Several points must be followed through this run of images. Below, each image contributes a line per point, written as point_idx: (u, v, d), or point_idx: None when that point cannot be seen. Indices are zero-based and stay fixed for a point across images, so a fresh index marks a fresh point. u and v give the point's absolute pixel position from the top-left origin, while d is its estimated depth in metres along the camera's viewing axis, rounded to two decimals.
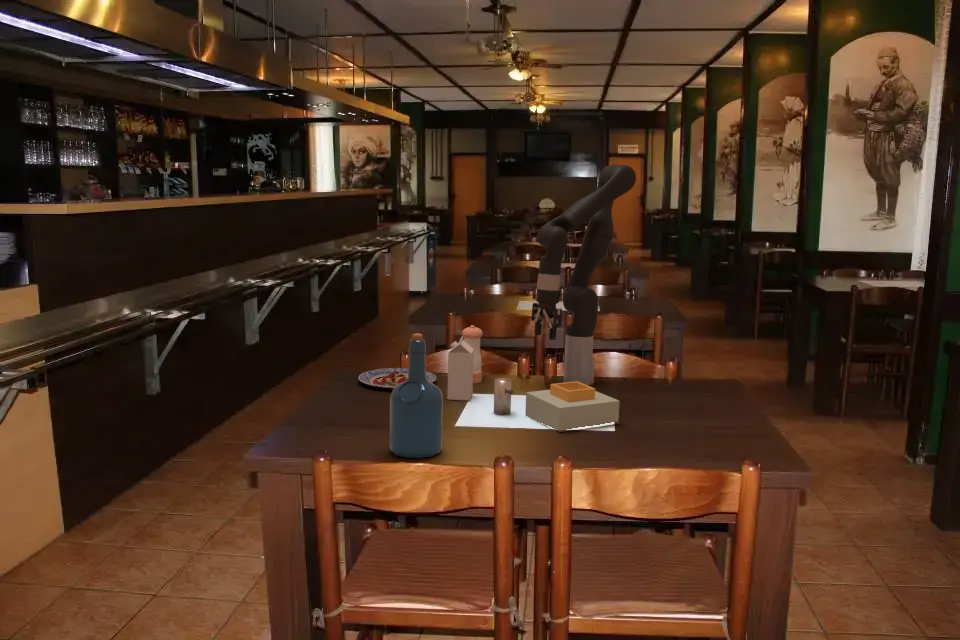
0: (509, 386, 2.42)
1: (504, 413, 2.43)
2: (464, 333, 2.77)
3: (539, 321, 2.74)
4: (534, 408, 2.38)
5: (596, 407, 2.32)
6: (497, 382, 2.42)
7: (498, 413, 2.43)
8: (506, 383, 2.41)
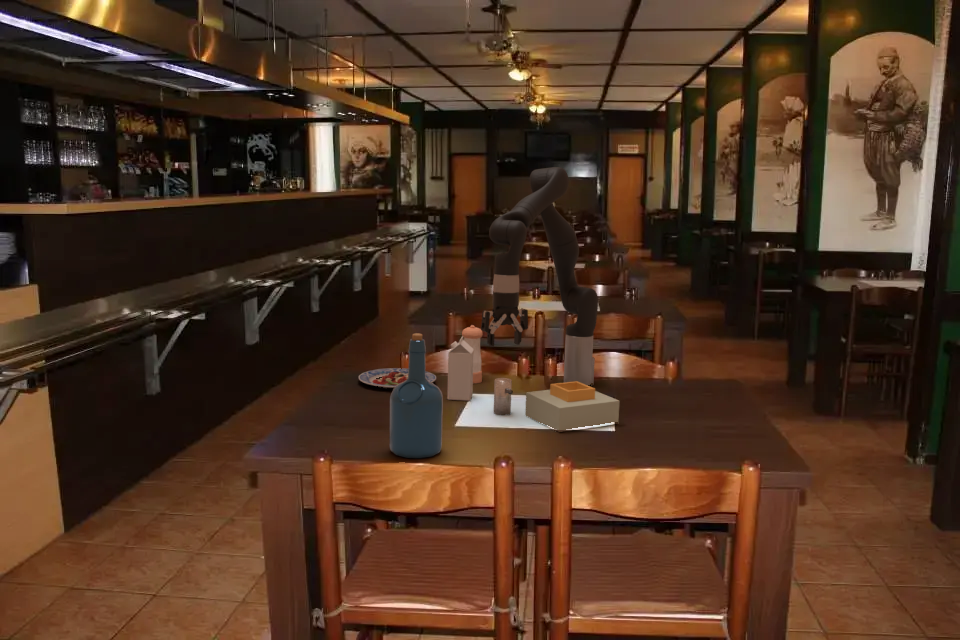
0: (509, 386, 2.42)
1: (504, 413, 2.43)
2: (464, 333, 2.77)
3: None
4: (534, 408, 2.38)
5: (596, 407, 2.32)
6: (497, 382, 2.42)
7: (498, 413, 2.43)
8: (506, 383, 2.41)
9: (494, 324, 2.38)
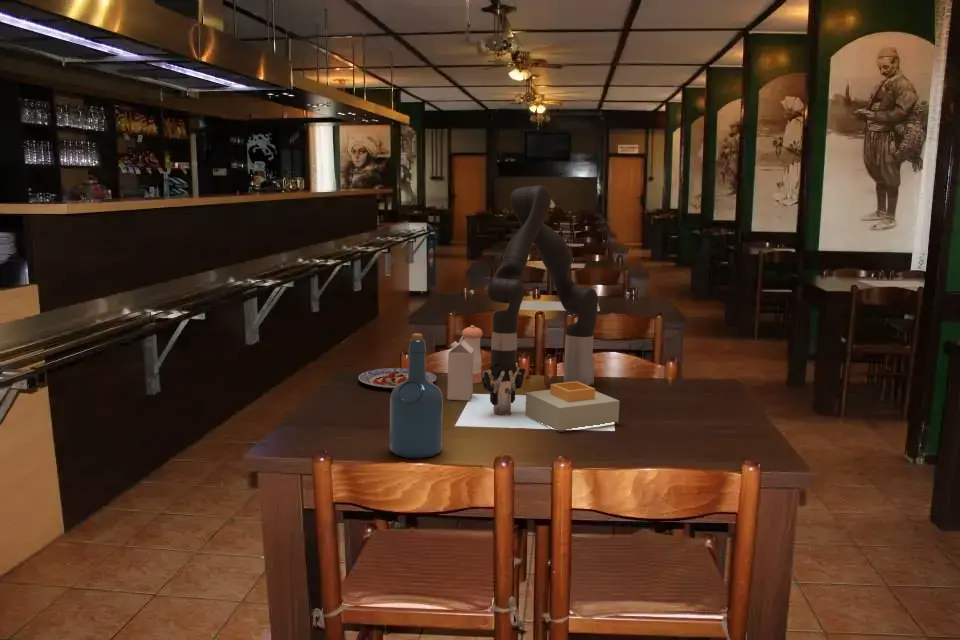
0: (509, 386, 2.42)
1: (504, 413, 2.43)
2: (464, 333, 2.77)
3: None
4: (534, 408, 2.38)
5: (596, 407, 2.32)
6: None
7: (498, 413, 2.43)
8: (506, 383, 2.41)
9: (495, 383, 2.41)
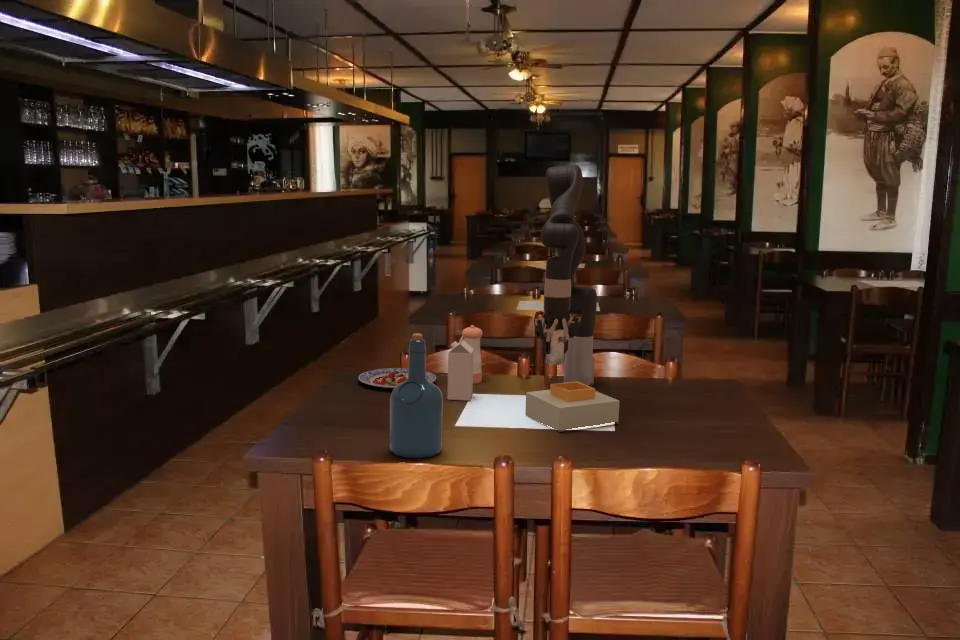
0: (562, 335, 2.35)
1: (557, 363, 2.36)
2: (464, 333, 2.77)
3: None
4: (534, 408, 2.38)
5: (596, 407, 2.32)
6: None
7: (551, 363, 2.36)
8: (559, 331, 2.35)
9: (548, 331, 2.35)
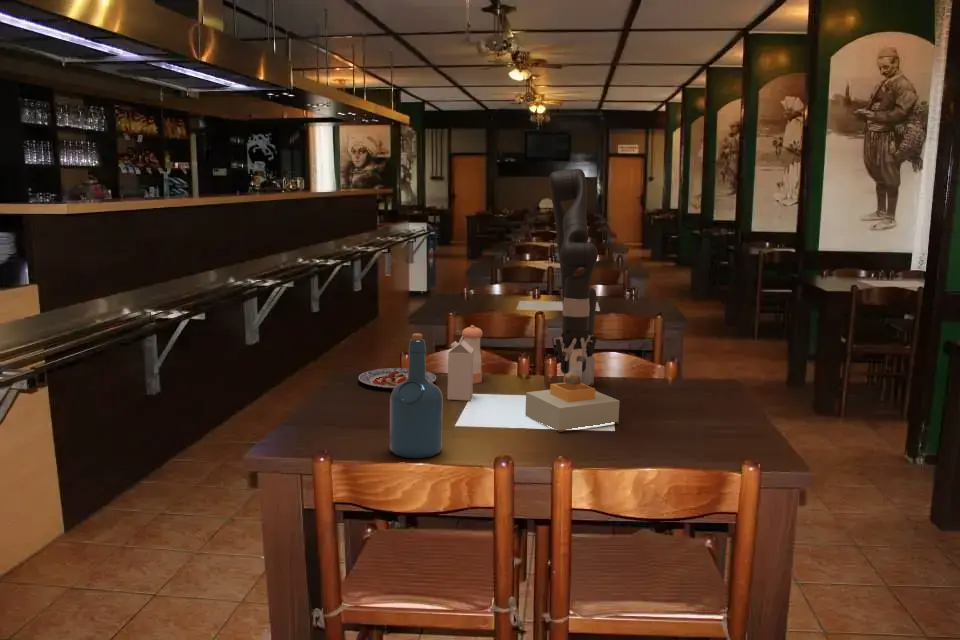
0: (581, 354, 2.35)
1: (575, 382, 2.35)
2: (464, 333, 2.77)
3: None
4: (534, 408, 2.38)
5: (596, 407, 2.32)
6: None
7: (569, 382, 2.36)
8: (578, 351, 2.34)
9: (566, 350, 2.34)
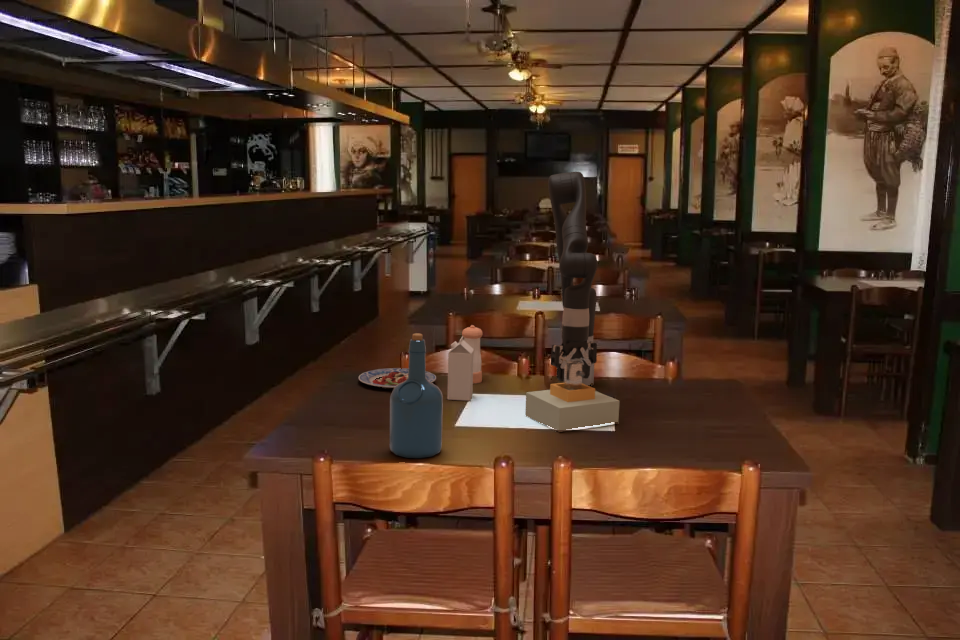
0: (580, 368, 2.36)
1: None
2: (464, 333, 2.77)
3: None
4: (534, 408, 2.38)
5: (596, 407, 2.32)
6: (568, 364, 2.35)
7: None
8: (577, 365, 2.35)
9: (564, 358, 2.34)
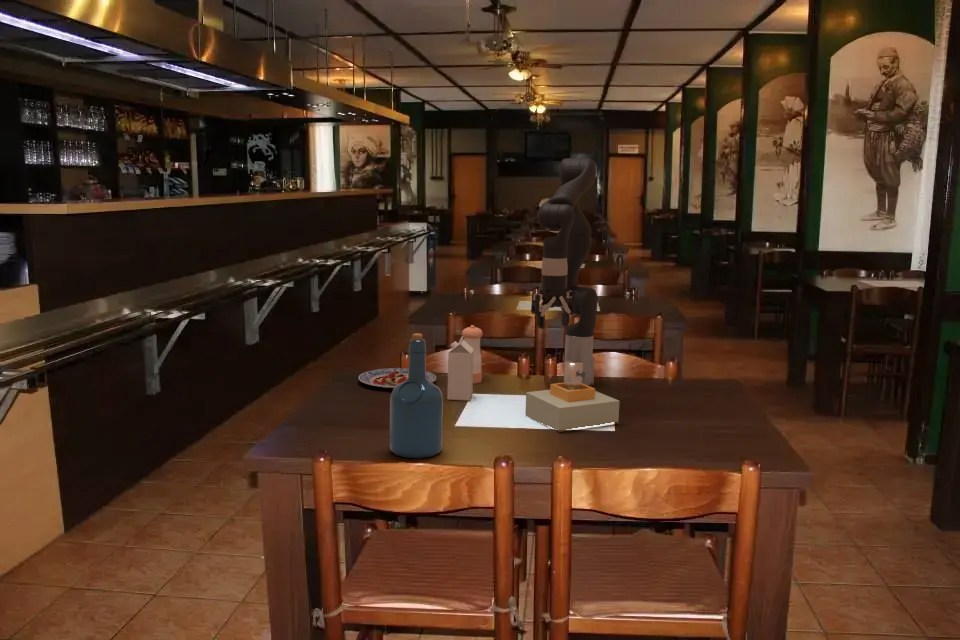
0: (580, 369, 2.35)
1: None
2: (464, 333, 2.77)
3: None
4: (534, 408, 2.38)
5: (596, 407, 2.32)
6: (568, 364, 2.35)
7: None
8: (578, 365, 2.35)
9: (544, 307, 2.43)
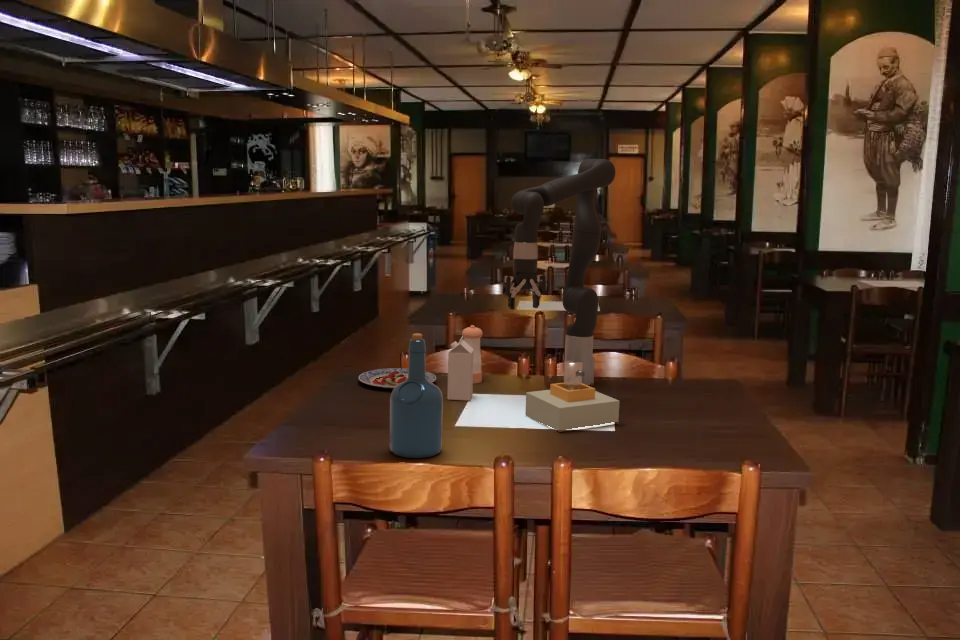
0: (580, 368, 2.36)
1: None
2: (464, 333, 2.77)
3: None
4: (534, 408, 2.38)
5: (596, 407, 2.32)
6: (568, 364, 2.35)
7: None
8: (577, 365, 2.35)
9: (514, 288, 2.57)
